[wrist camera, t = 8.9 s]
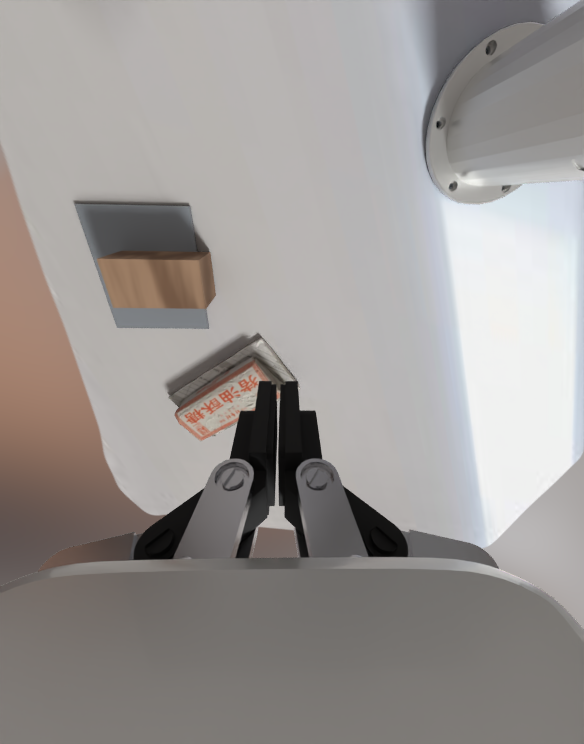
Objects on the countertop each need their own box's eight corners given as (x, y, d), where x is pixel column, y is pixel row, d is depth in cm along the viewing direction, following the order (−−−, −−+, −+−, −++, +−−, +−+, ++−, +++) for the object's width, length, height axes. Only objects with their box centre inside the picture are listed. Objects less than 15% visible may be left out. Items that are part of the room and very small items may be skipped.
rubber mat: (190, 206, 29) (189, 206, 29) (208, 327, 37) (208, 328, 37) (76, 203, 29) (74, 203, 29) (118, 326, 37) (117, 327, 36)
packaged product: (206, 453, 44) (158, 413, 39) (213, 431, 48) (170, 393, 43) (302, 402, 38) (258, 350, 34) (300, 383, 43) (262, 334, 38)
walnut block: (198, 260, 27) (96, 258, 27) (206, 308, 30) (113, 307, 30) (210, 252, 32) (122, 250, 31) (215, 295, 34) (134, 294, 34)
